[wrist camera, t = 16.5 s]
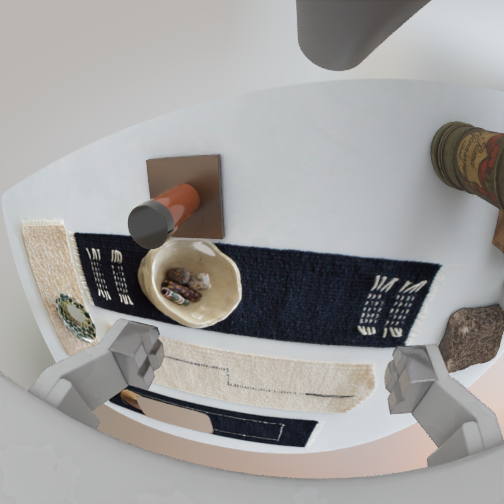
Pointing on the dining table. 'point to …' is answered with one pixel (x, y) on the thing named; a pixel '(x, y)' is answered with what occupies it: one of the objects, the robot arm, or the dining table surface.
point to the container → (470, 160)
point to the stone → (472, 337)
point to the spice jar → (162, 215)
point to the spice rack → (499, 232)
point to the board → (202, 180)
